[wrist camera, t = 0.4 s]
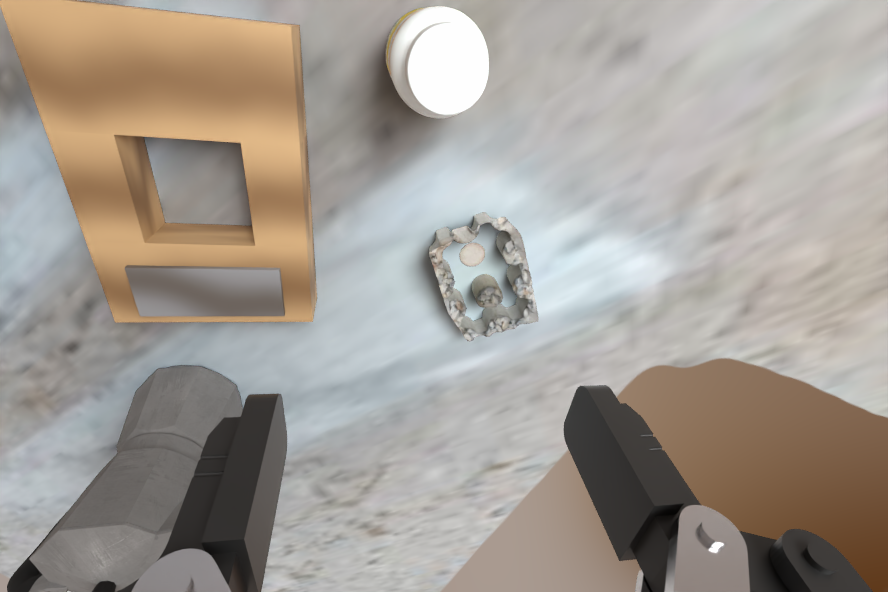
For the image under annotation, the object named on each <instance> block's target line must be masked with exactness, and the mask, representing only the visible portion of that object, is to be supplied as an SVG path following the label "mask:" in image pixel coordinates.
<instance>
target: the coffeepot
mask: <svg viewBox="0 0 888 592" xmlns="http://www.w3.org/2000/svg"><path fill="white" fill-rule="evenodd" d="M242 411H243V408H242V404H241V397H240V394H239V392H238V390H237V387H236V385H235V384H234V383H232V382H231V381H230V380H228V379H227V378H225V377H224V376H222V375H221V374H219V373H217V372H214V371H212V370H209V369H206V368H203V367H201V366H188V365H180V366H172V367H168V368H163V369H157V370H156V371H155V372H154V373H153V374H152V375H151V376H150V377H149V378H148V379H147V380H146V381H145V382H144V384H143V385H142V386H141V387H140V388H139V389H138V390H137V391H136V392H135V395H134V398H133V401H132V404H131V407H130V410H129V412H128V415H127V418H126V421H125V424H124V427H123V430H122V433H121V435H120V438H119V441H118V444H117V452H118V453H117V455H116V456H115V457H114V458H113V459H112V460H111V461H110V462H109V463H108V464H107V465H106V466H105V467H104V468H103V469H102V470H101V471H100V472H99V474H98V475H97V476H96V477H95V479H94V480H93V481H92V482H91V484H90V485H89V486H88V487H87V488H86V490H85V491H84V492H83V493H82V495H81V496H80V497H79V498H78V500H77V501H76V502H75V503H74V504H73V506H72V507H71V508H70V509H69V510H68V512H67V513H66V514H65V515H64V516H63V517H62V518H61V519H60V520H59V522H58V523H57V524H56V525H55V526H54V527H53V529H52V530H51V531H50V532H49V534H48V535H47V536H46V537H45V539H44V540H43V541H42V542H41V543H40V544H39V546H38V547H37V548H36V549H35V550H34V551H33V553H32V554H31V555H30V556H29V557H28V558H27V559H26V560H25V561H24V563H23V564H22V565H21V566H20V567H19V568H18V569H17V571H16V572H15V573H14V574H13V576H12V577H11V578H10V580H9V583H8V585H7V591H8V592H67V591H71V592H117V591H119V590H121V589H123V588H125V587H127V586H128V585H130V584H132V583H133V582H135V581H136V580H137V579H139V578H140V577H141V576H142V575H143V573H144V572H145V571H146V570H147V569H148V568H149V567H150V566H151V565H153V564H154V563H155V562H156V561H157V560H158V559H159V557H160V556H161V554H162V553H163V551H164V550H165V547H166V545H167V543H168V541H169V538H170V535H171V533H172V530H173V527H174V525H175V522H176V519H177V517H178V514H179V511H180V509H181V506H182V503H183V501H184V498H185V496H186V493H187V490H188V488H189V485H190V482H191V480H192V477H194V472H195V469H196V466H197V464H198V461H199V460H200V458H201V457H200V456H201V453H202V450H203V448H204V445H205V442H206V440H207V437H208V435H209V434H210V433H211V432H212V431H213V429H214V428H215V427H216V426H217V425H218V424H219V423H220V422H221V420H222V419H223V418H224V417H241V415H242Z"/></svg>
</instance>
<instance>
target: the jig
mask: <svg viewBox="0 0 888 592" xmlns="http://www.w3.org/2000/svg"><path fill="white" fill-rule="evenodd" d="M0 7H1V10H2V12H3V15H4V18H5V21H6V23H7V26H8V29H9V32H10V34H11V37H12V40H13V43H14V45H15V48H16V51H17V54H18V56H19V59H20V62H21V65H22V67H23V70H24V73H25V76H26V78H27V81H28V84H29V87H30V89H31V92H32V95H33V98H34V100H35V103H36V106H37V109H38V111H39V114H40V117H41V120H42V122H43V125H44V128H45V131H46V133H47V136H48V139H49V142H50V144H51V147H52V150H53V153H54V155H55V158H56V161H57V164H58V166H59V169H60V172H61V175H62V177H63V180H64V183H65V186H66V188H67V191H68V194H69V197H70V199H71V202H72V205H73V207H74V210H75V213H76V216H77V218H78V221H79V224H80V227H81V229H82V232H83V235H84V238H85V240H86V243H87V246H88V249H89V251H90V254H91V257H92V260H93V262H94V265H95V268H96V271H97V273H98V276H99V279H100V282H101V284H102V287H103V290H104V293H105V295H106V298H107V301H108V304H109V306H110V309H111V312H112V315H113V317H114V320H115V322H313V317H314V312H315V306H316V301H317V290H316V274H315V259H314V243H313V228H312V212H311V197H310V181H309V166H308V150H307V135H306V119H305V104H304V88H303V72H302V57H301V41H300V26H299V25H292V24H283V23H275V22H266V21H257V20H248V19H239V18H230V17H221V16H212V15H203V14H194V13H185V12H176V11H167V10H158V9H149V8H140V7H131V6H122V5H113V4H104V3H95V2H86V1H77V0H0ZM144 137H158V138H173V139H189V140H204V141H220V142H236V143H241V149H242V156H243V163H244V170H245V177H246V184H247V191H248V198H249V206H250V213H251V220H252V226H242V225H212V224H181V223H165V220H164V216H163V212H162V208H161V204H160V200H159V196H158V192H157V188H156V185H155V181H154V177H153V173H152V169H151V165H150V161H149V157H148V153H147V149H146V145H145V141H144Z"/></svg>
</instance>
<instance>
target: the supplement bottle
mask: <svg viewBox="0 0 888 592" xmlns="http://www.w3.org/2000/svg"><path fill="white" fill-rule="evenodd" d="M386 64H387V68H388V71H389V73H390V76H391V78H392V81H393V84H394V86H395V88H396V90H397V92H398V94H399V95H400V97H401V98H402V100H403V101H404V102H405V103H406V104H407V105H408V106H409V107H410V108H411V109H413V110H414V111H416V112H417V113H419V114H421V115H424V116H426V117H430V118H440V119H441V118H449V117H453V116H456V115H458V114H460V113H462V112H463V111H465V110H467V109H468V108H470V107H471V106H472V105H473V104H474V103H475V102H476V101H477V100H478V99H479V97H480V96H481V95H482V93H483V91H484V89H485V86H486V83H487V79H488V71H489V57H488V50H487V46H486V42H485V39H484V37H483V35H482V33H481V31H480V30H479V28H478V27H477V25H476V24H475V23H474V22H473V21H472V20H471V19H470V18H469V17H468V16H467V15H465V14H464V13H462V12H460V11H458V10H456V9H453V8H450V7H445V6H433V7H426V8H419V9H416V10H413V11H410V12H408V13H407V14H405V15H404V16H403V17H401V18H400V19H399V20H398V21H397V22H396V24H395V25H394V26H393V28H392V30H391V32H390V34H389V37H388V40H387V44H386Z"/></svg>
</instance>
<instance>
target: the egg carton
mask: <svg viewBox="0 0 888 592" xmlns="http://www.w3.org/2000/svg"><path fill="white" fill-rule="evenodd" d="M484 223H490V224H491V225H492V226H493V227H494V228H495V229H496V230H499V231H500V230H502V231H501V232H500V233H499V234H498V236H497V239H496V245H497V247H498V249H499V250H500V252H501V254H502V256H503V258H504V259H505V261H506V263H507V264H511V265H510V266H509V267H508V269H507V272H506V274H507V278H508V280H509V282H510V284H511V285H512V287H513V291H514V293H515V294H516V295H517V298H516V304H515V305H513V306H511V307H504V306H503V305H502V304H500V303H501V302H502V299H503V296H502V292H501V290H500V288H499V286H498V284H497V282H496V280H495V278H494V277H492V276H490V275H488V274H483V275H479V276H478V277H476V278H475V279H474V280H473V282H472V291H473V294H474V297H475V299H476V302H477V304H478V305H479V306H480V307H484V310H483V313H482V318H480V319H478V320H475V321H472V320H471V319H470V318H469V317H467V316H465V312H466V309H467V308H466V306H465V303H464V301H463V298H462V295H461V293H460V292H459V291H458V290H457V289H455V288H453V286H454V283H455V281H454V279H453V277H454V276H453V275H452V272H451V269H450V266H449V264H448V262H446V260H444V259H443V258H442V253H443V250H444V249H445V248H446V247H448V246H449V245H450V244H451V243H452V241H453V240H454V241H456V242H458V243H469V244H467V245H465V246H464V247H463V248H462V249H461V252H460V254H459V255H460V260H461V262H462V263H463V264H465V265H466V266H476V265H478V264H480V263H481V262H482V261H483V259H484V257H485V250H484V248H483V247H482V246H481V245H480V244H478V243H470V242H471V241H472V240H474V239H475V238H476V237H477V235H478V232H479V228H480V225H482V224H484ZM429 257H430V259H431V262H432V265H433V267H434V270H435V273H436V276H437V280H438V283H439V287H440V290H441V293H442V296H443V299H444V302H445V306H446V308H447V311H448V313H449V315H450V317H451V318H452V320H453V321H454V323H455V324H456V325H457V327H458V328H459V329H460V331H461V332H462V334H463V336H464V337H465V339H466V340H467V341H472V340H473V339H474V338H475V337H477V336H480V335H484V336H486V337H489V336H491V335H492V334H493V333H495V332H503V331H505V330H509V329H515V328H516V327H517V326H518V325H519V324H529V323H533V322H537V321H538V313H537V307H536V302H535V298H534V294H533V292H534V291H533V288H532V280H531V276H530V272H529V267H528V263H527V259H526V253H525V248H524V244H523V240H522V237H521V235H520V233H519V232H518V230H517V229H516V228H515V227H514V226H513V225H512V224H511V223H510V222H509V221H508V220H507V219H506V217H500V218H498V219H493V218H491V217H489V216H488V215H487V214H486V212H482V213H479V214H476V215H474V222H473V225H472V227H471V228H469V227H468V226H463V227H460V228H457V229H453V230H452V232H451V231H450V230H449V229H448V228H447V227H444V228H442V229H439V230H437V231H436V239H435V242H434V243H433V245H431V246H430V247H429Z"/></svg>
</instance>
